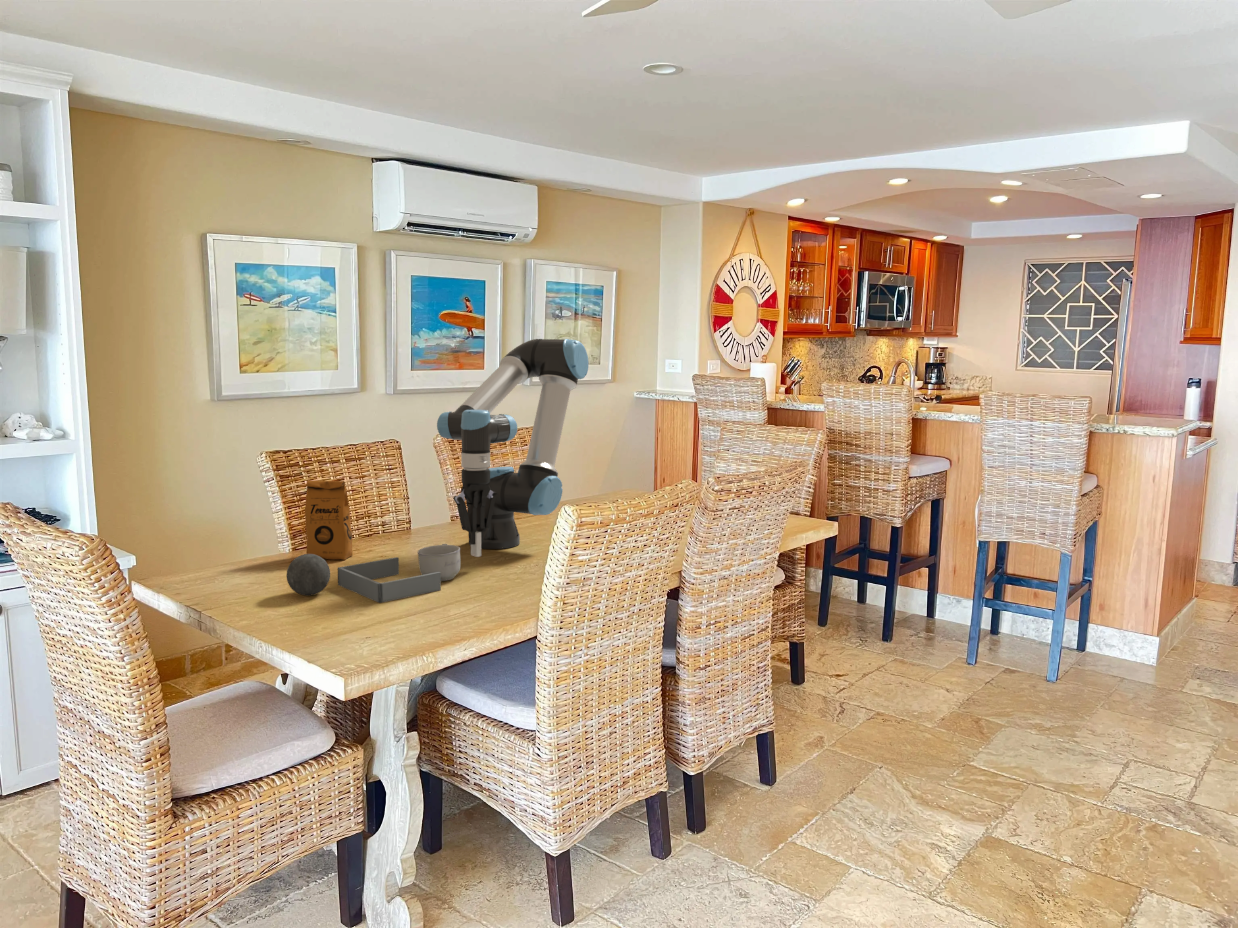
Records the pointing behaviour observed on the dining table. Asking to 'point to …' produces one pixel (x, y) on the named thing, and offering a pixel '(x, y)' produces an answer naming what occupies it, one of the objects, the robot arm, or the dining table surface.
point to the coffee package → (328, 520)
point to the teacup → (440, 560)
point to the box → (362, 583)
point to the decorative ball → (308, 574)
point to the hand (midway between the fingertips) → (476, 555)
